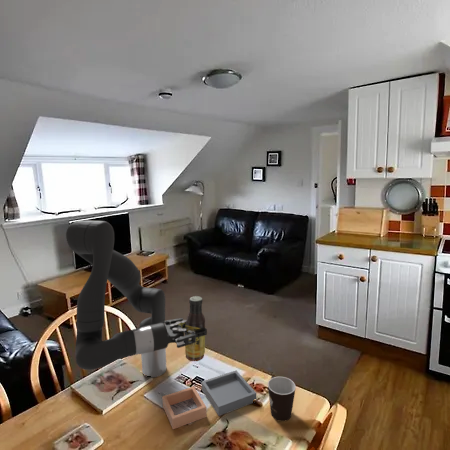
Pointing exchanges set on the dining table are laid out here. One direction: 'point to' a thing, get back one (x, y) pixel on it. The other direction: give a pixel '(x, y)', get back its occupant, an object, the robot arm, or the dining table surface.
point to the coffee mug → (281, 397)
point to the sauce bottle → (193, 323)
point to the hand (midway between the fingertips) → (202, 326)
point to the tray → (228, 392)
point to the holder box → (188, 415)
